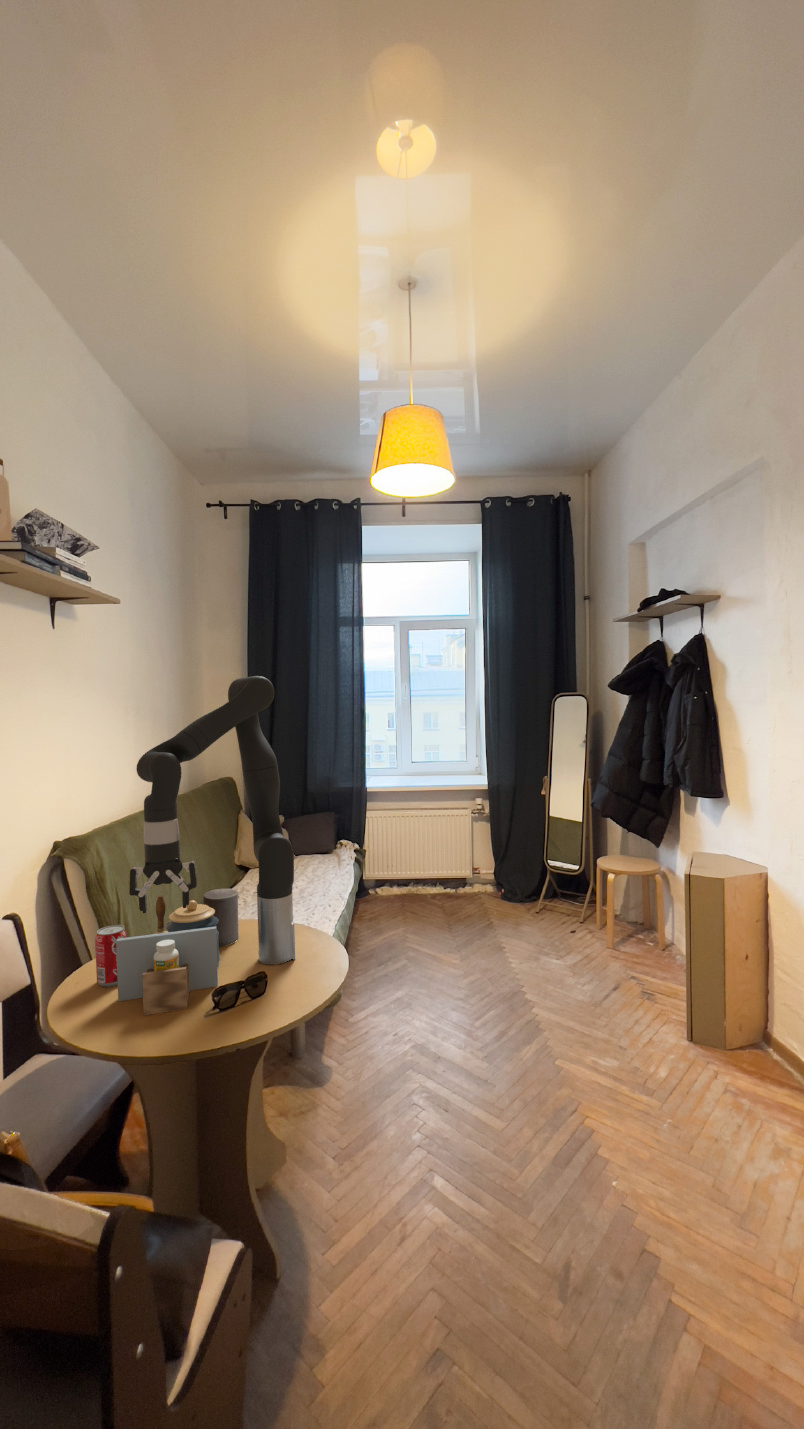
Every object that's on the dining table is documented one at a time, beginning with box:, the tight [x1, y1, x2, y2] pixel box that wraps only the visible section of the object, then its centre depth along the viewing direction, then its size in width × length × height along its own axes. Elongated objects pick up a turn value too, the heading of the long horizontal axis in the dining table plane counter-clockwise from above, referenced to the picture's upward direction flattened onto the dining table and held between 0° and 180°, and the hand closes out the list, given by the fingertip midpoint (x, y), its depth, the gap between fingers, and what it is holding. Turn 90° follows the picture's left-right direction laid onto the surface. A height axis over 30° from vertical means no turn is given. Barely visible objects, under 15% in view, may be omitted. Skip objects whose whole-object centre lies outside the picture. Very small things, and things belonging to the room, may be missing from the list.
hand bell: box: [154, 894, 168, 934], centre depth 166 cm, size 8×8×16 cm
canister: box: [164, 899, 221, 968], centre depth 156 cm, size 13×13×18 cm
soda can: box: [94, 924, 128, 987], centre depth 150 cm, size 7×7×13 cm
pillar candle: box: [202, 888, 239, 948], centre depth 174 cm, size 10×10×15 cm
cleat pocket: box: [142, 964, 190, 1016], centre depth 138 cm, size 9×9×9 cm
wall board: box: [116, 927, 219, 1002], centre depth 143 cm, size 22×2×14 cm, turn 107°
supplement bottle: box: [154, 940, 179, 971], centre depth 138 cm, size 5×5×10 cm
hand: (164, 909), depth 138 cm, fingers open, 8 cm apart
